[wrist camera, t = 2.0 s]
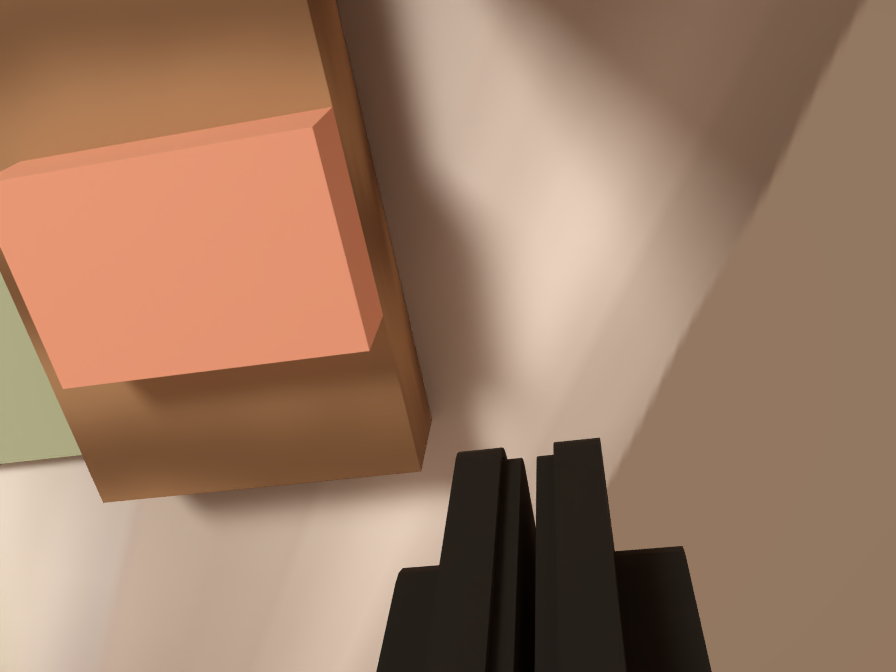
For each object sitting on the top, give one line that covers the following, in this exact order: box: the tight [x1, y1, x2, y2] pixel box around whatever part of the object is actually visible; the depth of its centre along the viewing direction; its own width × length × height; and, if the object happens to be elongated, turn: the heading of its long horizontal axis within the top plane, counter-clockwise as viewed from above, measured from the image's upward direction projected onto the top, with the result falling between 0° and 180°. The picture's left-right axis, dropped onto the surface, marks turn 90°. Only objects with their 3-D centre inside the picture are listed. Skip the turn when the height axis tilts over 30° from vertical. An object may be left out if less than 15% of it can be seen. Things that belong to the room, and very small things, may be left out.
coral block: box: [0, 107, 383, 389], centre depth 23 cm, size 6×9×2 cm, turn 100°
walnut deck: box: [0, 0, 432, 503], centre depth 26 cm, size 17×11×3 cm, turn 10°
